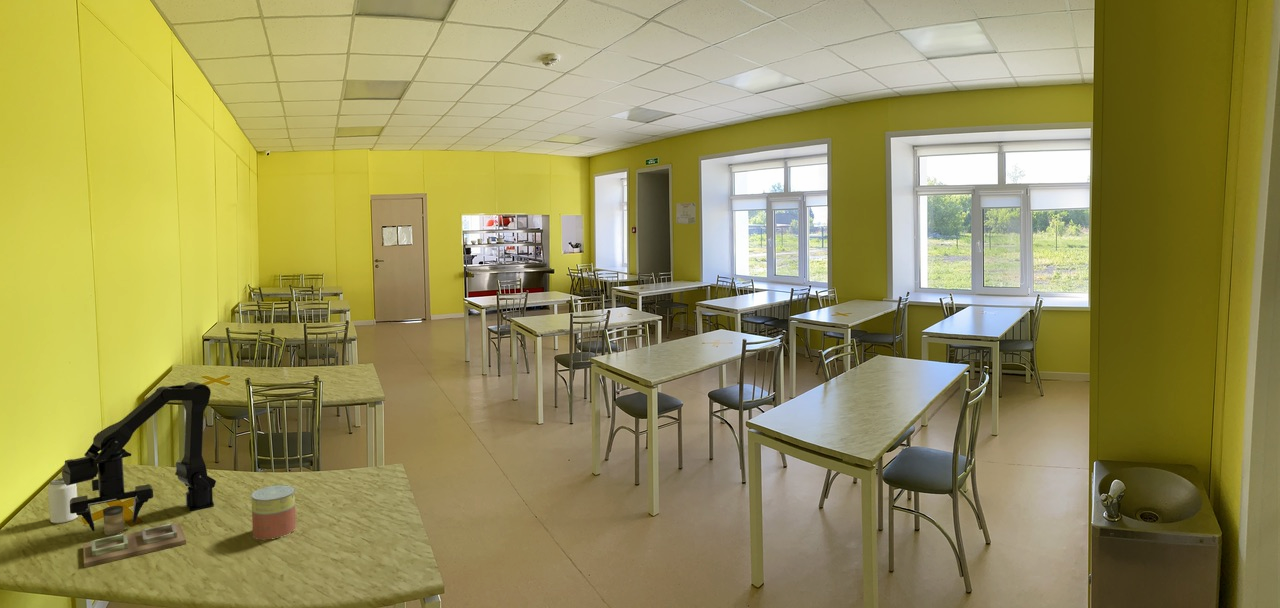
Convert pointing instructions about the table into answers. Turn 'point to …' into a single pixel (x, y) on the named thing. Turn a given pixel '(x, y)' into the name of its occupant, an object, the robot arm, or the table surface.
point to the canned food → (273, 511)
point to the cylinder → (113, 520)
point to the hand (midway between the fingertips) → (114, 526)
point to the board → (132, 544)
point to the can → (61, 501)
